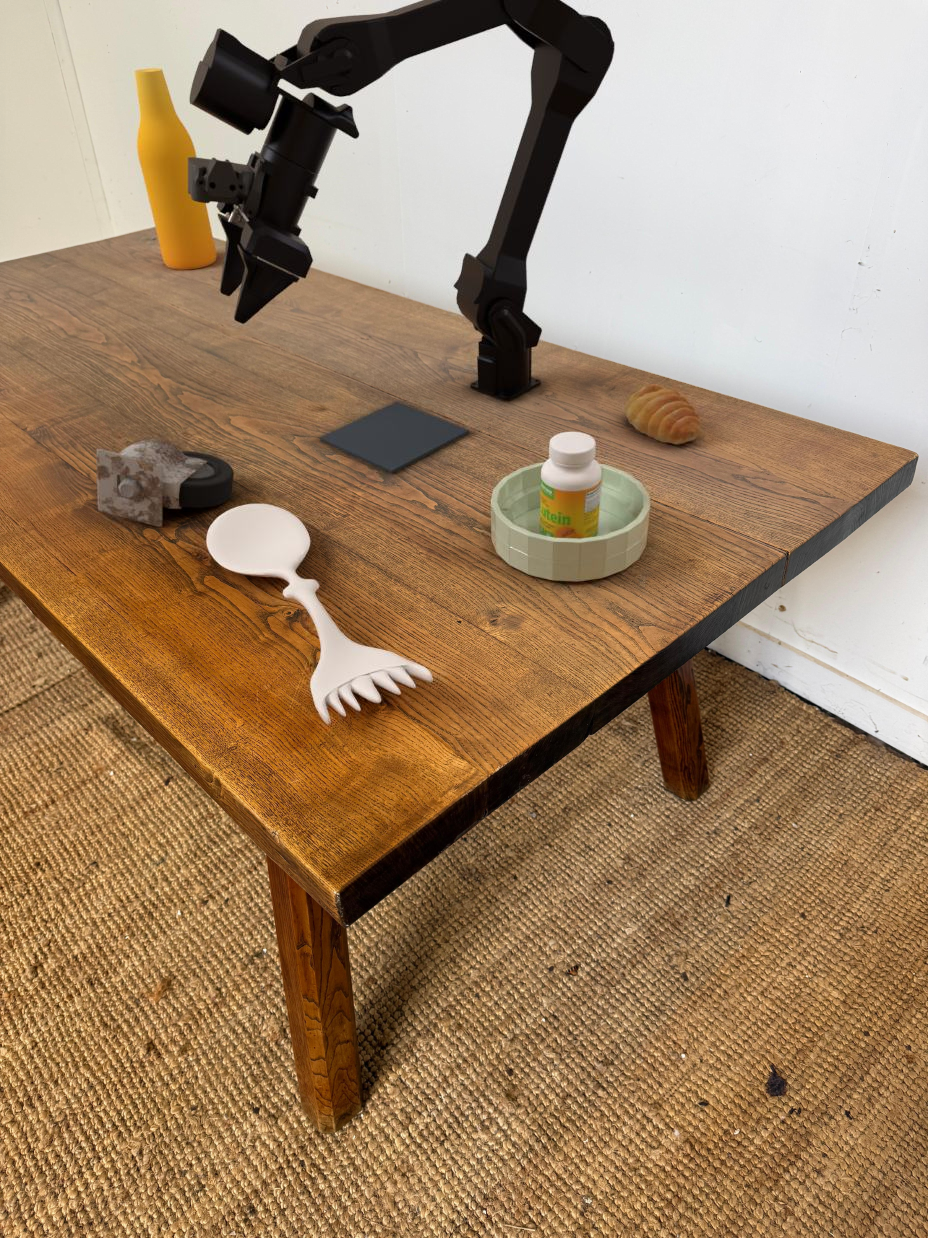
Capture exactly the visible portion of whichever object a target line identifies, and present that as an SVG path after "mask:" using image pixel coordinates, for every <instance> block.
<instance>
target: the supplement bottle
mask: <svg viewBox="0 0 928 1238" xmlns="http://www.w3.org/2000/svg"><path fill="white" fill-rule="evenodd" d="M596 443H597V442H596V440H595V439H594V437H592V435H589V434H588V433H584V432H580V431H565V432H564V431H563V432H560V433H557V434H555V435H554V436H552V437H550V440H549V444H548V445H549V446H548V459H547V460H546V461H544V462H545V463H544V464H543V466H542V469H541V494H540V535H545V536H549V537H554V538H575V539H581V538H589V537H596V536H597V534H598V523H599V509H600V493H601V480H602V471H601V467H600V465H599V464H600V462H598V461H597V459H595V457H596V453H597V452H596V449H597V448H596V447H597V446H596V445H597V444H596Z"/></svg>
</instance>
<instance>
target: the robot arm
mask: <svg viewBox="0 0 928 1238" xmlns="http://www.w3.org/2000/svg"><path fill="white" fill-rule="evenodd" d="M501 26H506V27H507V28H508V29H509V30H510V31H511V32H512V33H513V34H514V35H515V36H516V37H517V38H518V39H519V40H520V41H521V42H522V43H524V45H526V46H527V47H529V48H530V49H531V50H532V51H533V57H532V62H531V66H530V67H531V68H530V93H531V94H530V96H531V97H530V98H531V100H530V101H531V104H530V109H529V112H528V116H527V119H526V122H525V124H524V128H523V131H522V134H521V138H520V141H519V144H518V147H517V150H516V152H515V156H514V160H513V161H512V165H511V168H510V172H509V175H508V178H507V181H506V184H505V187H504V190H503V194H502V196H501V199H500V203H499V207H498V209H497V212H496V215H495V219H494V222H493V225H492V228H491V230H490V233H489V237H488V240H487V242H486V244H485V246H483V247H482V249H481V250H480V252H479V253H478V254H477V255H476V256H474V255H472V254H471V253H469V252H466V253H465V254H464V256H463V259H462V263H461V270H460V274H459V276H458V278H457V280H456V281H455V282H454V284H453V288H454V289H455V290H457V292H456V298H455V299H456V305H457V307H458V310H459V311H460V313H461V315H462V316H463V317H464V318H465V319H466V320H467V321H469V322H470V323H471V324H472V326H473V328H474V330H475V331H476V332H479V333H480V334H481V335H482V337H481V339H480V341H478V342H477V345H478V350H477V351H478V355H477V357H476V364H477V366H476V367H477V368H476V369H477V379H476V380H473V382H470V385H469V387H470V389H472V390H475V391H478V392H481V393H484V394H486V395H489V396H492V397H494V398H497V399H499V400H502V401H505V402H507V401H508V402H509V401H512V400H514V399H516V398H519V397H520V396H522V395H524V394H526V393H528V392H530V391H531V390H533V389H535V388H537V387H539V386H541V385H542V380H541V379H540V378H537V377H533V376H532V353H533V352H532V350H533V349H532V348H536V347H537V346H538V345H539V342H540V338H541V336H542V332H543V329H542V327H541V326H539V324H537V323H536V322H535V321H534V320H533V319H532V318H531V317H529V316H528V315H527V314H526V312H524V308H525V302H526V298H527V297H526V296H527V291H528V273H527V272H528V270H527V268H528V267H527V262H528V261H527V260H528V256H529V252H530V249H531V246H532V244H533V240H534V238H535V236H536V232H537V229H538V226H539V223H540V221H541V217H542V215H543V211H544V210H545V209H544V208H545V206H546V203H547V200H548V197H549V194H550V191H551V189H552V185H553V183H554V180H555V177H556V174H557V171H558V168H559V165H560V162H561V159H562V157H563V154H564V150H565V147H566V145H567V142H568V139H569V136H570V133H571V131H572V127H573V125H574V122H575V121H576V120H577V118H578V117H579V115H581V113H582V112H583V111H584V110H585V109H586V108H587V106H588V105H589V104H590V102H591V101H592V100H593V99H594V97H595V96H596V94H597V93H598V91H599V89H600V87H601V85H602V83H603V81H604V79H605V76H606V75H607V73H608V72H609V69H610V67H611V65H612V62H613V58H614V54H615V44H616V43H615V41H614V39H613V36H612V31H611V29H610V27H609V26H608V24H607V23H606V21H604V20H603V19H601V18H600V17H598V16H593V15H588V14H582V13H579V11H577V10H576V9H575V8H573V7H572V6H570V5H569V4H567V3H566V2H564V1H562V0H419V1H417V2H414V3H411V4H407V5H405V6H402V7H399V8H395V9H393V10H390V11H387V12H381V13H372V14H358V15H357V14H355V15H345V16H344V15H343V16H335V17H326V18H319V19H315V20H313V21H311V22H309V23H307V24H306V25H305V26H304V28H302V29H301V31H300V35H299V38H298V40H297V43H295V44H294V45H292V46H290V47H288V48H286V49H284V50H283V51H281V52H280V53H276V55H274V56H272V57H271V58H269V59H267V58H265V57H264V56H263V55H261V54H259V53H257V52H256V51H255V50H253V49H251V48H249V47H248V46H246V45H245V44H243V43H242V42H241V41H240V40H239V39H238V38H237V37H235V36H234V35H233V34H231V33H230V32H228V31H226V30H225V29H224V28H221V27H219V28H217V29H216V32H215V34H214V37H213V39H212V41H211V42H210V44H209V46H208V47H207V49H206V51H205V54H204V56H203V58H202V60H199V62H198V64H197V67H196V70H195V73H194V77H193V80H192V83H191V88H190V93H189V99H188V100H189V104H190V105H192V106H194V107H195V108H197V109H199V110H201V111H202V112H204V113H206V114H208V115H210V116H212V117H213V118H216V119H217V120H219V121H221V122H223V123H224V124H226V125H228V126H230V127H231V128H233V129H235V130H237V131H239V132H240V133H243V134H244V135H246V136H249V135H251V134H252V133H253V132H254V130H255V129H256V130H258V131H265V130H266V129H267V127H268V125H269V123H270V122H271V124H270V126H269V129H268V132H267V134H266V137H265V139H264V141H263V145H262V147H261V150H260V152H259V151H256V150H255V151H254V153H253V152H251V153H250V155H249V158H248V160H247V163H246V164H245V163H236V162H233V161H230V159H227V158H226V159H225V160H220V159H216V157H212V158H211V159H210V158H204V157H197V156H196V157H197V158H196V157H189V158H188V193H189V194H190V195H191V198H192V200H194V201H196V202H201V203H206V204H209V203H211V202H212V203H217V204H216V208H217V210H218V211H219V213H217V218H218V221H219V223H220V224H221V228H222V229H223V231H224V234H225V238H226V241H225V248H224V257H223V263H222V264H223V265H222V272H221V278H220V279H221V280H220V286H219V292H220V294H221V295H223V296H226V297H231V296H232V295H233V293H235V291H236V290H237V289H238V288H239V287H240V288H239V292H238V296H237V301H236V305H235V311H234V316H233V319H234V321H235V322H236V323H240V324H242V325H245V324H246V323H247V322H248V321H250V320H251V319H253V317H254V316H255V315H256V314H258V313H259V312H260V311H261V310H262V309H263V308H264V307H266V306H267V305H269V303H270V302H272V301H273V300H274V299H275V298H276V297H277V296H279V295H280V294H281V293H283V292H284V291H285V290H286V289H287V288H289V287H290V286H291V285H293V284H294V283H298V282H299V281H300V278H302V279H306V278H307V276H308V274H309V271H310V269H311V266H312V264H313V262H314V259H313V256H312V253H311V250H310V247H309V246H308V245H307V244H306V243H305V241H304V240H303V239H302V238H301V237H300V236H301V232H302V231H303V230H302V228H301V227H300V226H299V222H300V220H301V217H302V215H303V212H304V211H305V208H306V205H307V204H308V201H309V199H310V198H311V199H313V200H315V199H316V197H317V195H318V193H319V188H318V187H317V186H316V185H315V184H316V182H317V179H318V177H319V174H320V172H321V169H322V167H323V164H324V162H325V160H326V157H327V155H328V153H329V150H330V148H331V146H332V143H333V141H334V138H335V136H336V134H337V131H338V130H339V131H340V132H342V133H343V134H345V135H347V136H349V137H351V139H354V140H357V139H358V138H359V137H360V131H359V130H358V127H357V124H356V121H355V118H354V109H353V106H351V105H349V104H348V103H342V104H340V105H337V106H336V105H334V104H332V103H330V102H329V101H327V100H325V99H324V98H323V97H321V96H319V95H317V94H316V93H314V92H312V91H311V92H308V93H307V94H305V96H304V97H303V98H302V99H300V98H298V97H296V96H295V95H294V94H291V93H290V92H289V91H287V90H285V89H283V88H281V87H280V86H279V84H280V81H281V80H283V81H285V82H287V83H289V84H290V85H292V86H294V87H295V88H297V89H298V90H309V89H317V88H318V89H320V90H322V91H324V92H325V93H327V94H329V95H331V96H334V97H337V98H338V97H339V98H344V97H350V96H352V95H354V94H356V93H358V92H360V91H361V90H363V89H365V88H367V87H368V86H369V85H372V84H373V83H375V82H376V81H378V80H380V79H381V78H383V76H386V74H387V73H388V72H390V71H391V70H392V69H393V68H394V67H395V66H397V65H399V64H400V63H402V62H404V61H406V60H407V59H410V58H413V57H415V56H418V55H422V54H424V53H427V52H430V51H433V50H436V49H439V48H441V47H444V46H447V45H450V44H452V43H453V44H454V43H456V42H458V41H460V40H464V39H467V38H469V37H474V36H476V35H478V34H481V33H484V32H488V31H490V30H492V29H495V28H498V27H501ZM280 96H281V98H280V101H279V103H277V102H278V100H279V97H280ZM277 104H278V106H277ZM276 106H277V109H276ZM275 109H276V111H275ZM274 112H275V113H274ZM273 115H274V116H273ZM272 117H273V119H272ZM271 119H272V121H271Z"/></svg>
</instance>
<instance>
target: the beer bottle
mask: <svg viewBox="0 0 928 1238" xmlns="http://www.w3.org/2000/svg"><path fill="white" fill-rule="evenodd" d="M134 77H135V84H136V92H137V100H138V105H139V124H138V130H137V138H136V149H137V157H138V161H139V166H140V169H141V174H142V178H143V182H144V185H145V189H146V193H147V198H148V202H149V206H150V211H151V214H152V218H153V223H154V227H155V230H156V236H157V239H158V243H159V248H160V254H161V258H162V260H163V263H164V264H165V265H166V267H167V268H169V269H172V270H178V271H188V270H197V269H201V268H205V267H209V266H211V265H212V264H214V263H215V262H216V260H217V249H216V243H215V239H214V236H213V231H212V226H211V222H210V217H209V211H208V207H207V203H201V202H196V201H194V200H192V198H191V195H190V194H189V193H188V158H189V157H196V158H198V157H197V152H196V148H195V145H194V142H193V139H192V138H191V136H190V133H189V131H188V129H186V126H185V125H184V123H183V122H182V121H181V119H180V117H179V116H178V113H177V112H176V109H175V106H174V103H173V101H172V97H171V94H170V90H169V87H168V84H167V80H166V77H165V74H164V72H163V68H157V67H156V68H155V67H153V68H141V69H136V70H134Z"/></svg>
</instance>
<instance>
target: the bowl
mask: <svg viewBox="0 0 928 1238" xmlns="http://www.w3.org/2000/svg"><path fill="white" fill-rule="evenodd" d="M545 462H546V461H544V462H536V463H533V464H531V465H527V466H524V467H521V468H518V469H516V470H515V471H513V472H511V473H509V474H508V475H506V476H504V477H503V478H501V480H500V481H499V482H498V483H497V484H496V485H495V487H494V488H493V489H492V493H491V499H490V533H491V534H490V537H491V542H492V544H493V547H494V549H495V553H496V554H497V555H498V556H499V557H500V558H501V559H502V560H503V561H504V562H505V563H506V564H507V565H508V566H511V567H512V568H515V569H516V570H519V571H521V572H522V573H525V574H526V575H529V576H533V577H537V578H541V579H546V580H549V581H557V582H559V581H560V582H584V581H591V580H597V579H603V578H606V577H610V576H612V575H615V574H618V573H620V572H622V571H625V570H627V569H628V568H629V567H630V566H631V565H633V564H634V563H636V562H637V561H638V560H640V558H641V556H642V554H643V552H644V550H645V548H646V546H647V541H648V533H649V524H650V523H649V522H650V514H651V498H650V493H649V491H647V489H646V487H644V485H643V483H642V482H641V481H640V480H638V479H637V478H636V477H634V476H633V475H631V474H629V472H626V471H623V470H621V469H618V468H616V467H613V466H611V465H608V464H604V463H599V465H600V467H601V471H602V480H601V493H600V509H599V523H598V534H597V536H596V537H589V538H581V539H575V538H554V537H549V536H545V535H540V494H541V469H542V466H543V464H544V463H545Z"/></svg>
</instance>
